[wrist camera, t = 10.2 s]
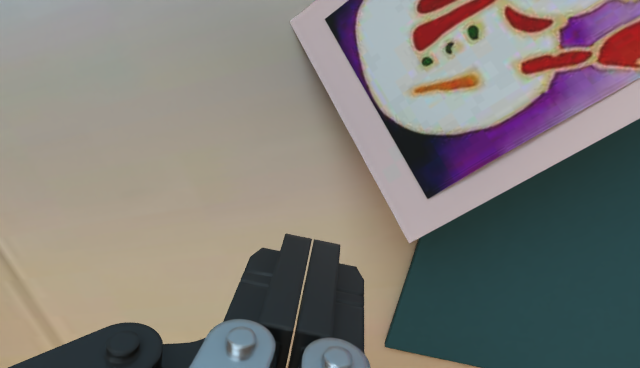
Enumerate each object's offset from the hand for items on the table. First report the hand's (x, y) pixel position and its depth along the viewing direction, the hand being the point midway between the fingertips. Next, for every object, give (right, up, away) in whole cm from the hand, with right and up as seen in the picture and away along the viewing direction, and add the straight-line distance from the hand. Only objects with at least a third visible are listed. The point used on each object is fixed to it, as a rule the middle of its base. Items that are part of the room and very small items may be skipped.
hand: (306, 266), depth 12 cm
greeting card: (+2, +5, +9) cm, 11 cm away
